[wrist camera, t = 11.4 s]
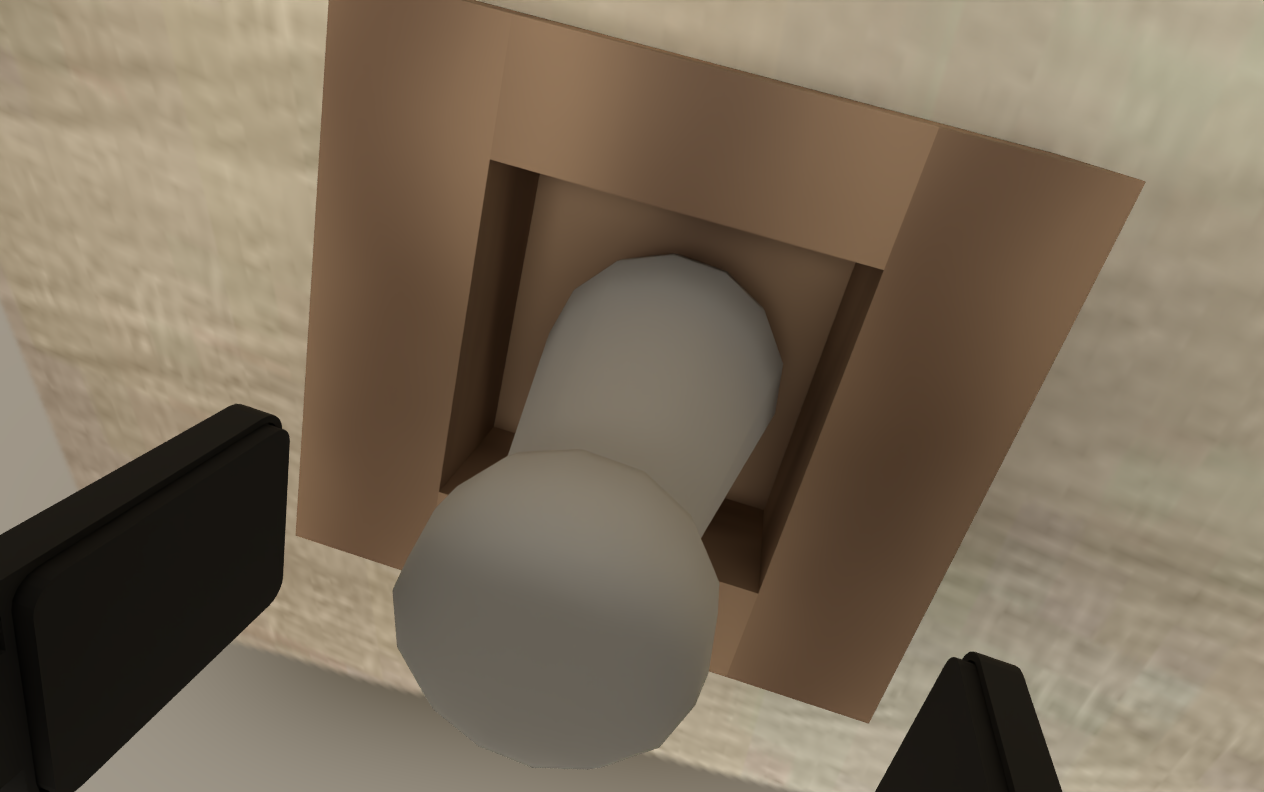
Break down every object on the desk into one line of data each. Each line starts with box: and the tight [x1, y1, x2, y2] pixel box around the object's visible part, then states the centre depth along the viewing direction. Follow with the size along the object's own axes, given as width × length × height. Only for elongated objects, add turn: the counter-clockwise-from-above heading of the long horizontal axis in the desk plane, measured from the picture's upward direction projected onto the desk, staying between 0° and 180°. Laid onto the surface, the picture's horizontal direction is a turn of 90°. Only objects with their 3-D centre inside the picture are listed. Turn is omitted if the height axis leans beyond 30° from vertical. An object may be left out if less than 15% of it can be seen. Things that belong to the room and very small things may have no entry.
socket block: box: [296, 0, 1145, 723], centre depth 20 cm, size 16×14×5 cm
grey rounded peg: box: [393, 253, 783, 769], centre depth 15 cm, size 6×6×13 cm
